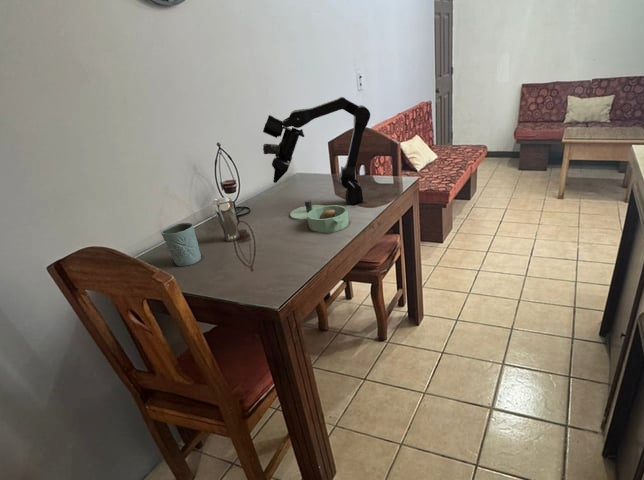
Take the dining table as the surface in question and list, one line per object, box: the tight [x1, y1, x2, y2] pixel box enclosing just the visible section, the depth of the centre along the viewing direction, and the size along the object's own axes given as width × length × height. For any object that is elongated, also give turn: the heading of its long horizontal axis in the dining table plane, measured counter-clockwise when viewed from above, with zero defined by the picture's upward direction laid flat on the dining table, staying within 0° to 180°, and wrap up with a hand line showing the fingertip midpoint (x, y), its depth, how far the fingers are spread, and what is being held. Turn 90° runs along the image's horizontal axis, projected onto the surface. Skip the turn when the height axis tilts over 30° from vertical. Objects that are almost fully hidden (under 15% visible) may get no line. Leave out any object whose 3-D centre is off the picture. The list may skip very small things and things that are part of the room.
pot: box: [307, 204, 350, 234], centre depth 161 cm, size 15×21×5 cm
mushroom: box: [320, 210, 336, 219], centre depth 161 cm, size 8×8×6 cm
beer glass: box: [212, 196, 242, 243], centre depth 156 cm, size 7×7×15 cm
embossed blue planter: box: [160, 222, 202, 267], centre depth 143 cm, size 10×10×12 cm
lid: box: [289, 199, 325, 221], centre depth 173 cm, size 16×16×6 cm
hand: (275, 179), depth 171 cm, fingers open, 9 cm apart
